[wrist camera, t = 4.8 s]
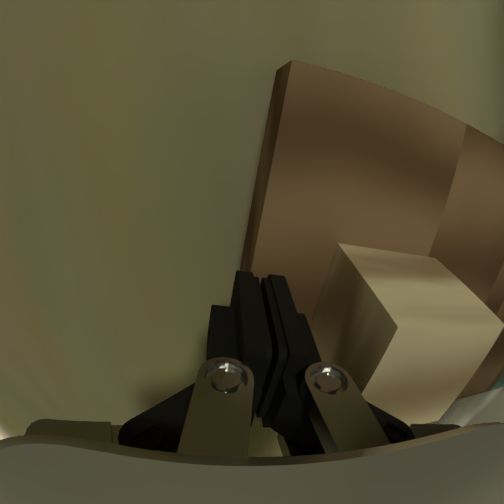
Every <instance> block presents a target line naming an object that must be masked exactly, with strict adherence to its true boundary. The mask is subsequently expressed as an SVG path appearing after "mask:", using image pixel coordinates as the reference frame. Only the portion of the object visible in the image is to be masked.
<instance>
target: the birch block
mask: <svg viewBox="0 0 504 504" xmlns="http://www.w3.org/2000/svg"><path fill="white" fill-rule="evenodd" d="M503 327H504V323H503V322H502V321H501V320H500V319H499V318H498V317H497V316H496V315H495V314H494V313H493V312H492V311H491V310H490V309H489V308H488V307H487V306H486V305H485V304H484V303H483V302H482V301H481V300H480V299H479V298H478V297H477V296H476V295H475V294H474V293H473V292H472V291H471V290H470V289H469V288H468V287H467V286H466V285H465V284H463V283H462V282H461V281H460V280H459V279H458V278H457V277H456V276H455V275H454V274H453V273H452V272H451V271H449V270H448V269H447V268H446V267H445V266H444V265H443V264H442V263H440V262H439V261H438V260H437V259H436V258H431V257H425V256H419V255H413V254H406V253H400V252H393V251H387V250H380V249H374V248H367V247H360V246H353V245H346V244H340V243H337V247H336V250H335V253H334V257H333V260H332V263H331V267H330V270H329V273H328V276H327V279H326V282H325V285H324V289H323V292H322V295H321V298H320V301H319V304H318V307H317V310H316V313H315V315H314V318H313V321H312V324H311V327H310V329H311V332H312V335H313V338H314V341H315V343H316V346H317V349H318V352H319V355H320V357H321V360H322V362H329V363H333V364H336V365H338V366H340V367H342V368H343V369H344V370H346V371H347V372H348V373H349V375H350V376H351V377H352V379H353V381H354V382H355V384H356V386H357V387H358V389H359V391H360V392H361V394H362V396H363V397H364V399H365V400H366V401H367V402H369V403H371V404H373V405H374V406H376V407H378V408H380V409H381V410H383V411H385V412H387V413H389V414H390V415H392V416H394V417H396V418H398V419H399V420H401V421H403V422H404V423H406V424H407V425H408V426H410V425H411V424H425V423H429V422H433V421H438V420H439V419H440V418H441V416H442V415H443V414H444V413H445V412H446V410H447V409H448V408H449V407H450V405H451V404H452V403H453V402H454V400H455V399H456V398H457V396H458V395H459V394H460V393H461V391H462V390H463V389H464V387H465V386H466V385H467V383H468V382H469V380H470V379H471V378H472V376H473V375H474V373H475V372H476V370H477V369H478V368H479V366H480V365H481V363H482V362H483V360H484V359H485V357H486V355H487V354H488V352H489V351H490V349H491V348H492V346H493V344H494V343H495V341H496V339H497V338H498V336H499V334H500V333H501V331H502V329H503Z"/></svg>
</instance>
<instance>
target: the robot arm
mask: <svg viewBox="0 0 504 504" xmlns="http://www.w3.org/2000/svg"><path fill="white" fill-rule="evenodd" d="M255 413H256V417H257V418H262V424H263V427H271V428H272V429H273V430H274V431H276V432H277V433H278V435H277V438H278V443H279V446H280V449H281V452H282V454H283V457H248V447H249V436H250V428H251V425H252V422H253V419H254V416H255ZM0 504H504V423H499V422H496V423H495V422H494V423H481V424H474V425H469V426H465V427H460V426H458V425H454V424H411V425H410V426H408V425H407V424H406V423H404V422H403V421H401V420H399V419H398V418H396V417H394V416H392V415H390V414H389V413H387V412H385V411H383V410H381V409H380V408H378V407H376V406H374V405H373V404H371V403H369V402H367V401H366V400H365V399H364V397H363V396H362V394H361V392H360V391H359V389H358V387H357V386H356V384H355V382H354V381H353V379H352V377H351V376H350V375H349V373H348V372H347V371H346V370H344V369H343V368H342V367H340V366H338V365H336V364H333V363H329V362H322V360H321V357H320V355H319V352H318V349H317V346H316V343H315V341H314V338H313V335H312V332H311V329H310V327H309V324H308V321H307V318H306V316H305V314H303V313H297V310H296V307H295V304H294V301H293V298H292V295H291V293H290V290H289V287H288V284H287V281H286V278H285V276H281V275H272V274H269V275H268V277H267V278H262V280H261V284H260V282H259V278H258V277H254V275H253V272H246V271H238V270H237V272H236V276H235V281H234V287H233V293H232V298H231V304H230V307H228V306H218V305H212V306H211V312H210V320H209V328H208V339H207V361H206V362H205V363H204V364H202V365H201V367H200V369H199V371H198V375H197V379H196V382H195V383H194V384H192V385H190V386H189V387H187V388H185V389H184V390H182V391H180V392H178V393H177V394H175V395H173V396H172V397H170V398H168V399H166V400H165V401H163V402H161V403H159V404H158V405H156V406H154V407H152V408H150V409H149V410H147V411H145V412H143V413H141V414H140V415H138V416H136V417H134V418H132V419H130V420H129V421H128V422H126V423H125V424H124V425H111V422H94V421H70V420H55V419H39V420H37V421H35V422H32V423H31V424H30V425H29V427H28V428H27V429H26V432H25V435H23V436H15V437H10V438H6V439H3V440H0Z"/></svg>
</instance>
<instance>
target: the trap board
mask: <svg viewBox="0 0 504 504" xmlns="http://www.w3.org/2000/svg"><path fill="white" fill-rule="evenodd" d="M337 243H340V244H346V245H353V246H360V247H367V248H374V249H380V250H387V251H393V252H400V253H406V254H413V255H419V256H425V257H431V258H436V259H437V260H438V261H439V262H440V263H442V264H443V265H444V266H445V267H446V268H447V269H448V270H449V271H451V272H452V273H453V274H454V275H455V276H456V277H457V278H458V279H459V280H460V281H461V282H462V283H463V284H465V285H466V286H467V287H468V288H469V289H470V290H471V291H472V292H473V293H474V294H475V295H476V296H477V297H478V298H479V299H480V300H481V301H482V302H483V303H484V304H485V305H486V306H487V307H488V308H489V309H490V310H491V311H492V312H493V313H494V314H495V315H496V316H497V317H498V318H499V319H500V320H501V321H502V322H503V323H504V145H503V144H501V143H499V142H498V141H496V140H494V139H493V138H491V137H489V136H488V135H486V134H484V133H482V132H480V131H479V130H477V129H475V128H473V127H471V126H469V125H468V124H466V123H464V122H462V121H460V120H458V119H456V118H454V117H452V116H450V115H448V114H446V113H444V112H442V111H440V110H437V109H435V108H433V107H431V106H429V105H426V104H424V103H422V102H420V101H417V100H415V99H413V98H410V97H408V96H405V95H403V94H400V93H398V92H395V91H393V90H390V89H387V88H385V87H382V86H379V85H376V84H374V83H371V82H368V81H365V80H362V79H359V78H356V77H353V76H350V75H346V74H343V73H340V72H336V71H333V70H329V69H326V68H322V67H318V66H315V65H311V64H307V63H303V62H298V61H294V60H291V61H290V62H288V63H287V64H285V65H284V66H282V67H281V68H279V69H278V70H277V72H276V78H275V83H274V88H273V93H272V99H271V104H270V109H269V114H268V120H267V125H266V130H265V136H264V141H263V146H262V152H261V157H260V163H259V168H258V173H257V179H256V184H255V190H254V195H253V201H252V206H251V212H250V217H249V223H248V228H247V234H246V239H245V245H244V250H243V256H242V262H241V267H240V271H246V272H253V275H254V277H258V278H259V282H260V284H261V280H262V278H267V277H268V275H269V274H272V275H281V276H285V278H286V281H287V284H288V287H289V290H290V293H291V295H292V298H293V301H294V304H295V307H296V310H297V313H303V314H305V316H306V318H307V321H308V324H309V327H311V324H312V321H313V318H314V315H315V313H316V310H317V307H318V304H319V301H320V298H321V295H322V292H323V289H324V285H325V282H326V279H327V276H328V273H329V270H330V267H331V263H332V260H333V257H334V253H335V250H336V247H337ZM503 386H504V327H503V329H502V331H501V333H500V334H499V336H498V338H497V339H496V341H495V343H494V344H493V346H492V348H491V349H490V351H489V352H488V354H487V355H486V357H485V359H484V360H483V362H482V363H481V365H480V366H479V368H478V369H477V370H476V372H475V373H474V375H473V376H472V378H471V379H470V380H469V382H468V383H467V385H466V386H465V387H464V389H463V390H462V391H461V393H460V394H459V395H458V396H457V398H456V399H460V398H464V397H468V396H472V395H476V394H479V393H483V392H487V391H490V390H493V389H497V388H500V387H503ZM456 399H455V400H456ZM253 420H262V418H257V417H256V413H255V416H254V419H253Z"/></svg>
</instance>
